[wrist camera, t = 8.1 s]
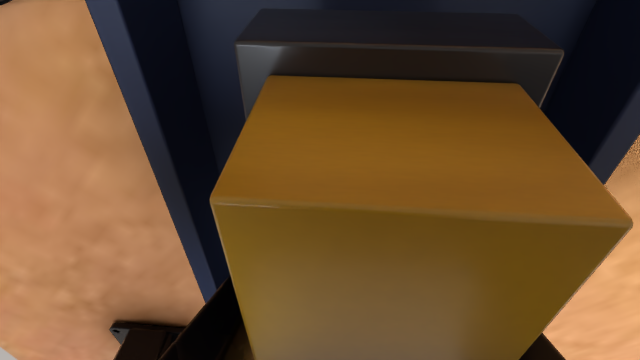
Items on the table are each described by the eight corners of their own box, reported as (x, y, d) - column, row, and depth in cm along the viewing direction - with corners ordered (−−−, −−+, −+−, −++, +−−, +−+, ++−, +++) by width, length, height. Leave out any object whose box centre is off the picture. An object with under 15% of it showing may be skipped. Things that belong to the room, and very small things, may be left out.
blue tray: (470, 286, 19) (488, 350, 17) (233, 269, 20) (214, 327, 18) (716, -204, 7) (919, -256, 5) (107, -196, 8) (-12, -236, 6)
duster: (411, 325, 14) (431, 484, 10) (291, 316, 15) (268, 466, 11) (519, 12, 7) (744, 185, 3) (259, 7, 7) (137, 155, 3)
